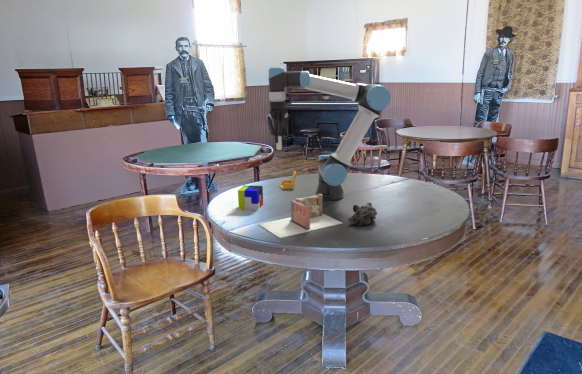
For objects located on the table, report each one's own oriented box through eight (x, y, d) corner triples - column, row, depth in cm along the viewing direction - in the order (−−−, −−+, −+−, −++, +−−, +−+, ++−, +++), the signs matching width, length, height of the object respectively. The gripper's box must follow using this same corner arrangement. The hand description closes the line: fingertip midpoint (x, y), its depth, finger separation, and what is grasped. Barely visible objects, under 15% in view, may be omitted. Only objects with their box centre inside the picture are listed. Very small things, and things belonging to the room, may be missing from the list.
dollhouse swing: (279, 185, 267) (279, 170, 265) (295, 184, 268) (295, 169, 265) (280, 189, 257) (280, 174, 254) (297, 189, 258) (296, 173, 255)
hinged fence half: (290, 219, 202) (289, 199, 199) (293, 218, 203) (293, 198, 200) (307, 228, 190) (306, 207, 187) (310, 227, 191) (310, 206, 188)
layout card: (318, 212, 214) (318, 211, 214) (342, 223, 197) (342, 222, 197) (258, 224, 199) (258, 223, 199) (279, 238, 182) (279, 237, 182)
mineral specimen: (345, 205, 206) (356, 190, 200) (368, 217, 208) (380, 202, 202) (344, 226, 194) (356, 211, 188) (369, 238, 196) (381, 223, 190)
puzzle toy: (258, 210, 220) (257, 190, 218) (238, 209, 222) (237, 190, 220) (263, 204, 230) (262, 185, 227) (244, 203, 232) (243, 185, 229)
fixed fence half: (320, 213, 210) (320, 193, 208) (323, 215, 209) (323, 194, 206) (294, 219, 203) (294, 198, 201) (297, 220, 202) (296, 199, 199)
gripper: (285, 99, 218) (286, 146, 224) (261, 101, 212) (263, 149, 218) (293, 100, 212) (294, 148, 218) (268, 101, 206) (270, 151, 212)
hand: (279, 149), depth 218 cm, fingers closed
